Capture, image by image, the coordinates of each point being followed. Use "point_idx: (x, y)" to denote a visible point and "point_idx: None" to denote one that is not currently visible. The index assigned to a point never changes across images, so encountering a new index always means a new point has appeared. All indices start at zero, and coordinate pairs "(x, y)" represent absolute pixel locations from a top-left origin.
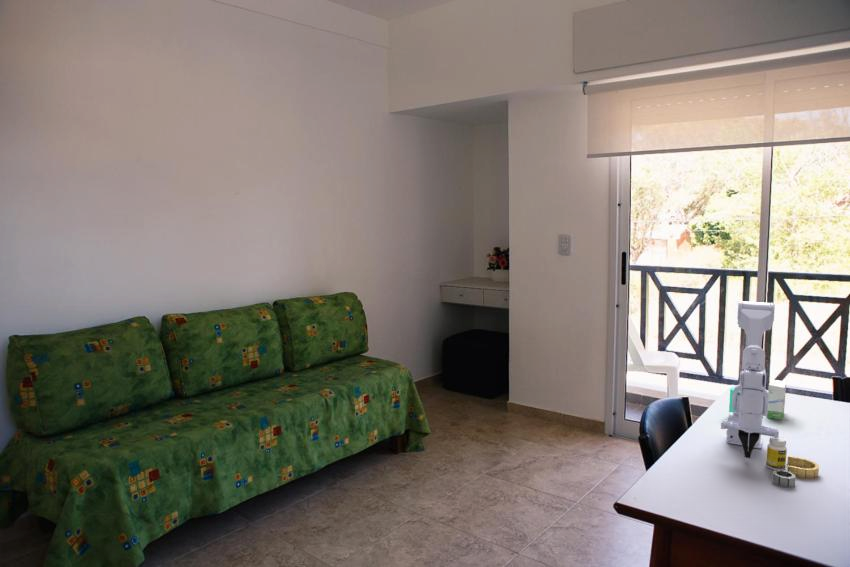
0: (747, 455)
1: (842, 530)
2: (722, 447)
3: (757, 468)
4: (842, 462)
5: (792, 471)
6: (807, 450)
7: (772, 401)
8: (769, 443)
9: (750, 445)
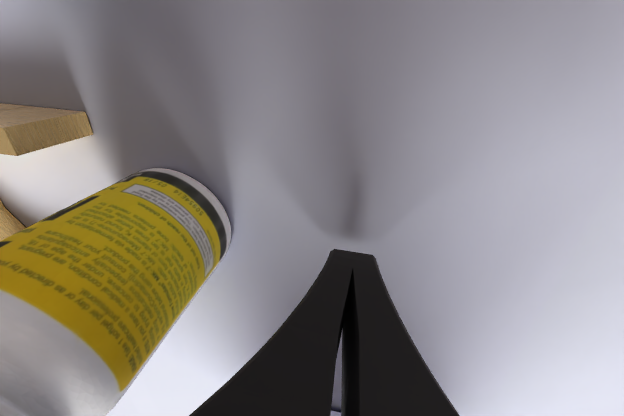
0: (352, 263)
1: None
2: (476, 396)
3: (281, 152)
4: None
5: (14, 114)
6: (131, 399)
7: None
8: (77, 412)
9: (310, 360)
